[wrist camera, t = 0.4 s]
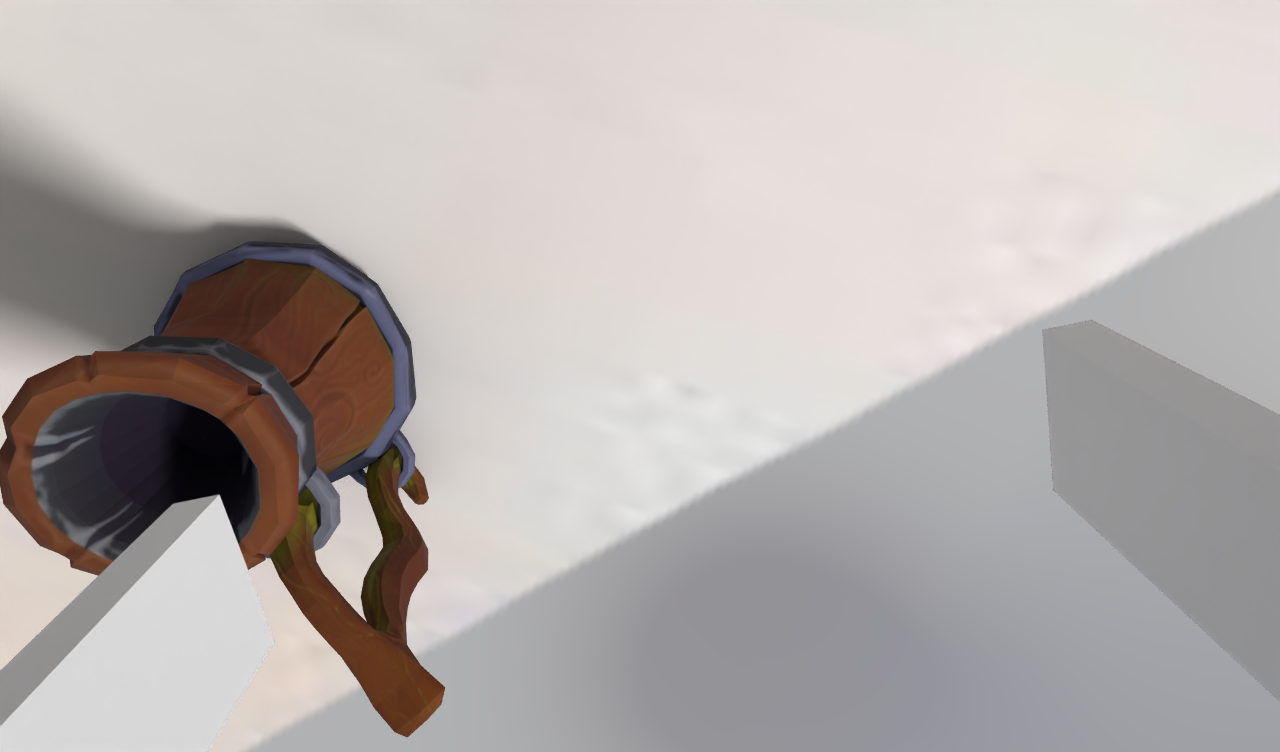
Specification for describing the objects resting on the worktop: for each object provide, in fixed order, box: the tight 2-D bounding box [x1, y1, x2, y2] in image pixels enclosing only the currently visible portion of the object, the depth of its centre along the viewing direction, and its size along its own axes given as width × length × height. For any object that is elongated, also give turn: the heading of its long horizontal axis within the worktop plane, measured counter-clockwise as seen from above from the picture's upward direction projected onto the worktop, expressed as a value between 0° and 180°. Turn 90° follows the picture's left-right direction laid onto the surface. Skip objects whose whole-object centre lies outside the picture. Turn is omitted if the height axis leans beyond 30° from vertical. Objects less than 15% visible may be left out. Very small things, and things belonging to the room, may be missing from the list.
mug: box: [0, 241, 445, 737], centre depth 36 cm, size 18×12×15 cm, turn 40°
